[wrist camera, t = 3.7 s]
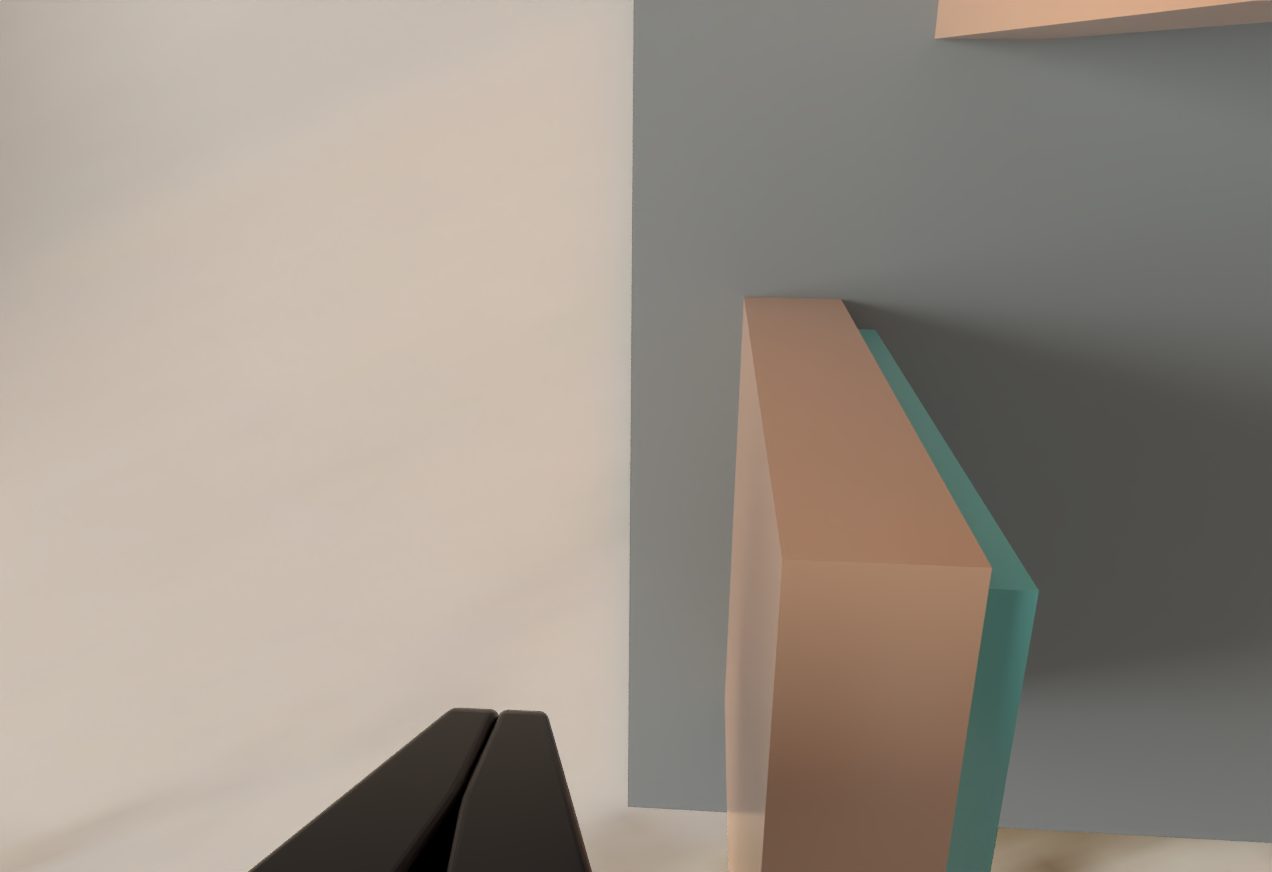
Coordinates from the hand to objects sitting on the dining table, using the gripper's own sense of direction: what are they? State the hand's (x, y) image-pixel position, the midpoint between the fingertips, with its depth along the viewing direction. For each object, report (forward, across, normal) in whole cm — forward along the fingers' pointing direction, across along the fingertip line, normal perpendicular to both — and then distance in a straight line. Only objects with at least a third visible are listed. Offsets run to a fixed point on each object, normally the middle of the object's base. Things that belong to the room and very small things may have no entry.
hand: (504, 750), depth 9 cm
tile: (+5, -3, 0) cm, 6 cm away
